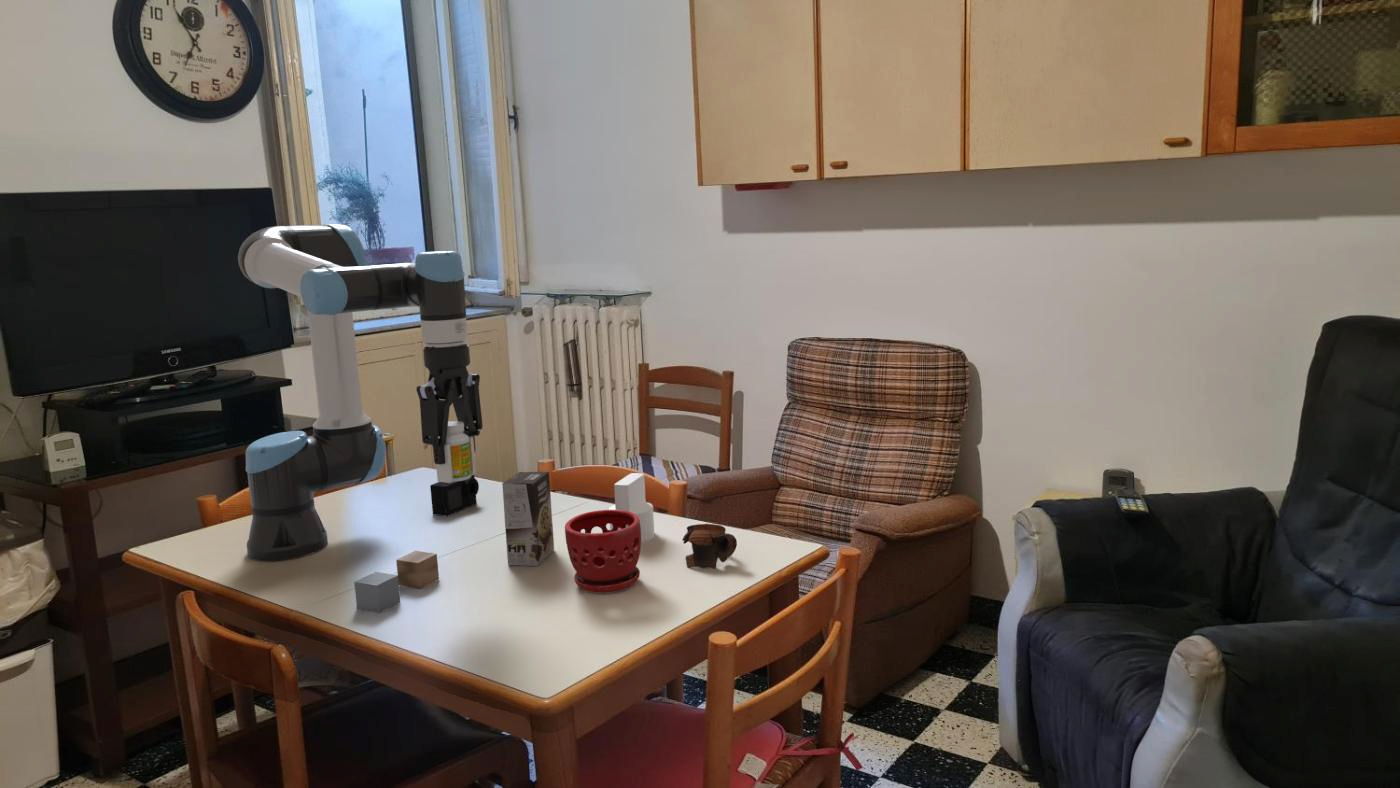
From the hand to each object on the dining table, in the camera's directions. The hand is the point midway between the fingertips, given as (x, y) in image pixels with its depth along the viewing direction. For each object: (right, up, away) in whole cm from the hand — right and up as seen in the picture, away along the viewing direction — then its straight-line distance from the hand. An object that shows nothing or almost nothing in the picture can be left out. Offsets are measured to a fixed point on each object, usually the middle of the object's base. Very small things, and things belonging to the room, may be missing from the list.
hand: (457, 476), depth 166 cm
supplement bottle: (0, 0, 0) cm, 1 cm away
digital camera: (-13, -12, +53) cm, 56 cm away
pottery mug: (+44, -17, +14) cm, 49 cm away
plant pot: (+25, -20, +4) cm, 32 cm away
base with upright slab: (+28, -15, +30) cm, 44 cm away
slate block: (-13, -22, -2) cm, 26 cm away
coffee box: (+10, -17, +19) cm, 28 cm away
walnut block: (-9, -20, +8) cm, 24 cm away
